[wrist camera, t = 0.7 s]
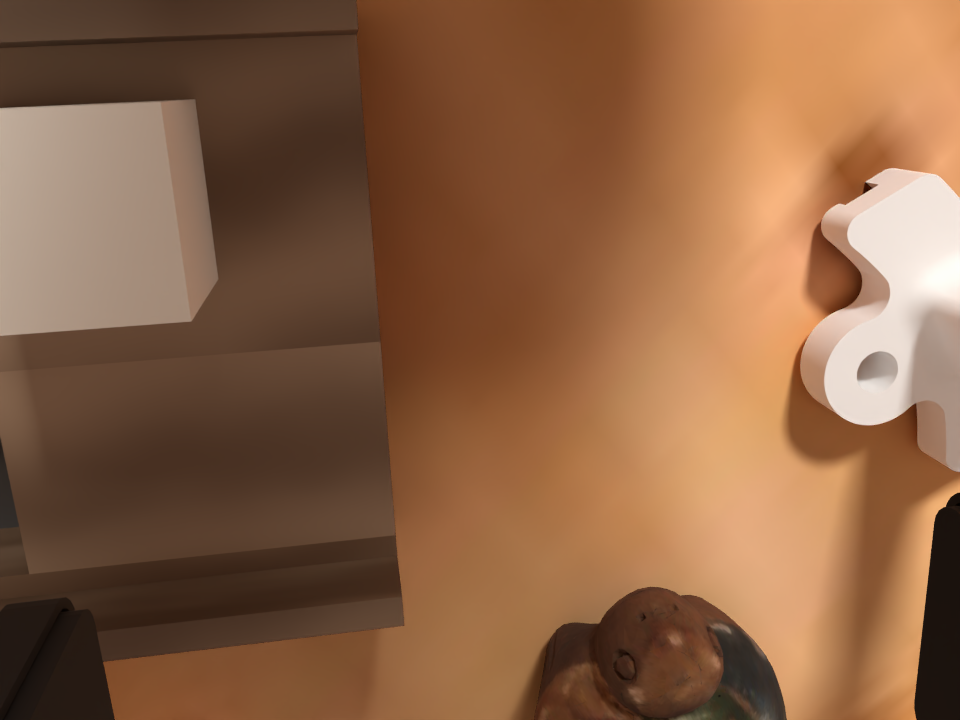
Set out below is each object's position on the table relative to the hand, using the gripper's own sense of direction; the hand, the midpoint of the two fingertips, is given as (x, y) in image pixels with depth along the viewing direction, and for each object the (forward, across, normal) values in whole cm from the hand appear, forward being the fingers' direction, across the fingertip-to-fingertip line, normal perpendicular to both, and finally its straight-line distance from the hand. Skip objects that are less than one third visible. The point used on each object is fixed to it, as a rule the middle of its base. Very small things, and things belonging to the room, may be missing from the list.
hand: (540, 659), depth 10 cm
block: (+18, +8, -3) cm, 20 cm away
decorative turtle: (+22, -8, +18) cm, 30 cm away
